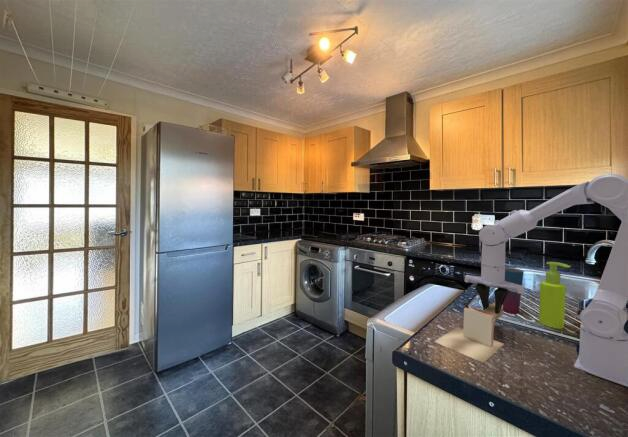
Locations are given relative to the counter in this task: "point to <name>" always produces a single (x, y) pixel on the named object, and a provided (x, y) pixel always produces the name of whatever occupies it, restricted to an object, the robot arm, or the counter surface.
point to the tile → (478, 326)
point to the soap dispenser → (552, 298)
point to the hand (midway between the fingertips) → (491, 311)
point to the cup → (513, 298)
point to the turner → (493, 312)
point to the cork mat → (468, 345)
